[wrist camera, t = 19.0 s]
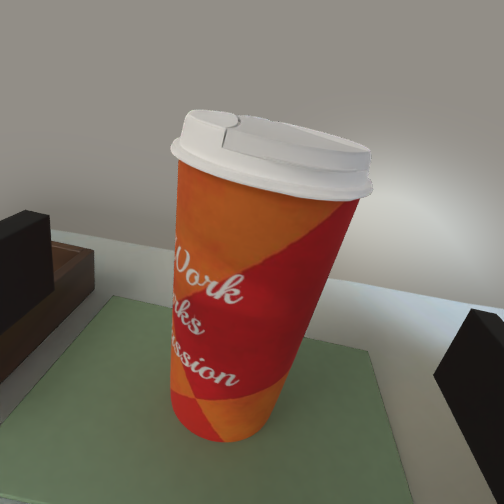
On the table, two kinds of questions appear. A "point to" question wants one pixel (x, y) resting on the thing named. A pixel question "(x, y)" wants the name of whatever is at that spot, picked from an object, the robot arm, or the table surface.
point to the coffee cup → (251, 259)
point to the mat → (184, 441)
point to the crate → (49, 305)
